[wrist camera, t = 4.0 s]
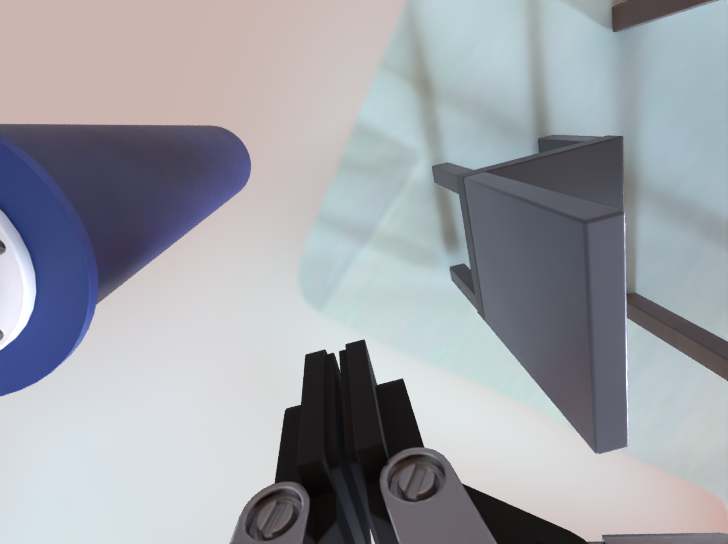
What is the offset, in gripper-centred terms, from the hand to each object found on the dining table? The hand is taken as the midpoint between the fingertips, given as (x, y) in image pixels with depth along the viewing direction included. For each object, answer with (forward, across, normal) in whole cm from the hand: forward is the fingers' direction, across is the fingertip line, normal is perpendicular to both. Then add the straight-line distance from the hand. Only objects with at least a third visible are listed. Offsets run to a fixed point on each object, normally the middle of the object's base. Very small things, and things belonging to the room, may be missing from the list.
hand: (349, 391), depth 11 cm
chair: (+13, -10, 0) cm, 16 cm away
